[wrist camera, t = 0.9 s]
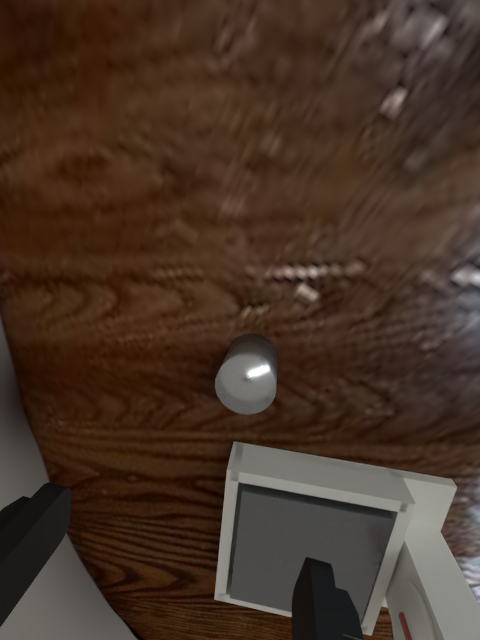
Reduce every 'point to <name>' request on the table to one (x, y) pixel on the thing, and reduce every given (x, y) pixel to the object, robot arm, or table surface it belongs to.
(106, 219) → the table surface
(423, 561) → the scale
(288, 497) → the scale pan
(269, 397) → the cylinder
